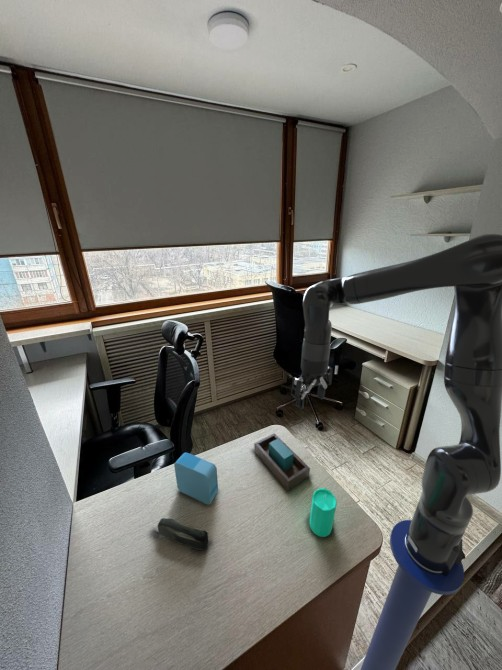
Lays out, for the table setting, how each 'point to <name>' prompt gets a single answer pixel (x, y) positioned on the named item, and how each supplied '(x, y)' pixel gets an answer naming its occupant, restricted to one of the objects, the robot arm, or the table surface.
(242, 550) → the table surface
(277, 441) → the block
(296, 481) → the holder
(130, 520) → the table surface
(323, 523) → the candle
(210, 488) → the data package
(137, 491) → the table surface
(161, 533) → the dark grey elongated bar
